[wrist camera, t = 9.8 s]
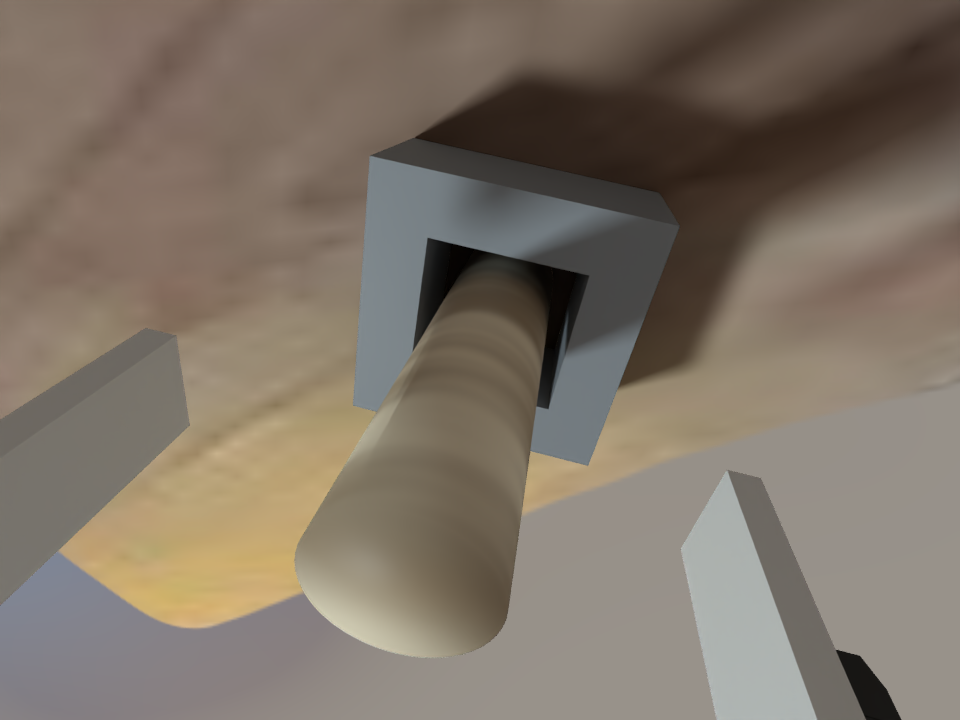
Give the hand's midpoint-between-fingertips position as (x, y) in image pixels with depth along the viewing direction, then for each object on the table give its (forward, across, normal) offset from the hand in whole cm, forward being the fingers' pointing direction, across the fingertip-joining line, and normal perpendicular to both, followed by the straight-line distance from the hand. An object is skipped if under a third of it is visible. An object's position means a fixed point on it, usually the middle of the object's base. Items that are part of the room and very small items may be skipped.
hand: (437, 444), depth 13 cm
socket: (+12, 0, 0) cm, 12 cm away
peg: (+12, 0, 0) cm, 12 cm away
